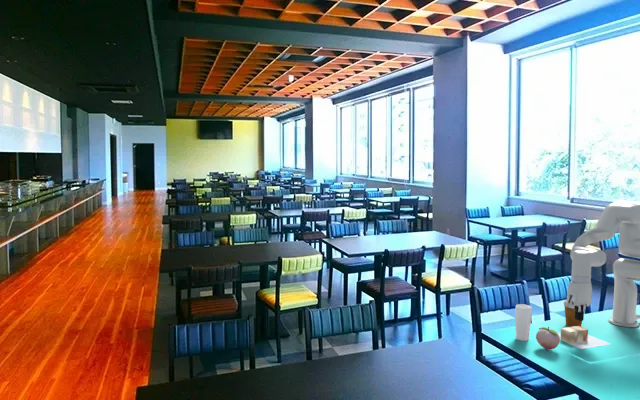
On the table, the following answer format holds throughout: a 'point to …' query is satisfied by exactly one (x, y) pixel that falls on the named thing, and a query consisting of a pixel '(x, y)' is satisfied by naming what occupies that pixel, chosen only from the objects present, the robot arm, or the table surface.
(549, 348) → the decorative fruit
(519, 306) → the drinking glass
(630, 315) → the robot arm
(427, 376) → the table surface
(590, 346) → the white square plate
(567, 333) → the maple block
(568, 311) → the disposable coffee cup
